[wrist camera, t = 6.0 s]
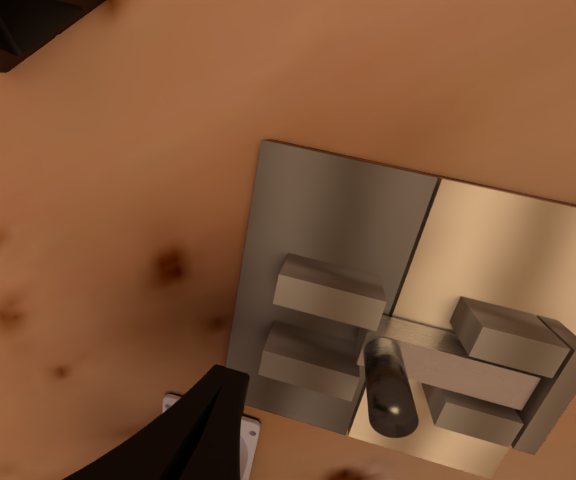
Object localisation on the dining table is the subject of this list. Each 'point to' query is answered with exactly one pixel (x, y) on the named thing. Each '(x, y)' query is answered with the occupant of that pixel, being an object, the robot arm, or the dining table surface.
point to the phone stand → (35, 25)
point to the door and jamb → (403, 297)
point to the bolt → (427, 373)
